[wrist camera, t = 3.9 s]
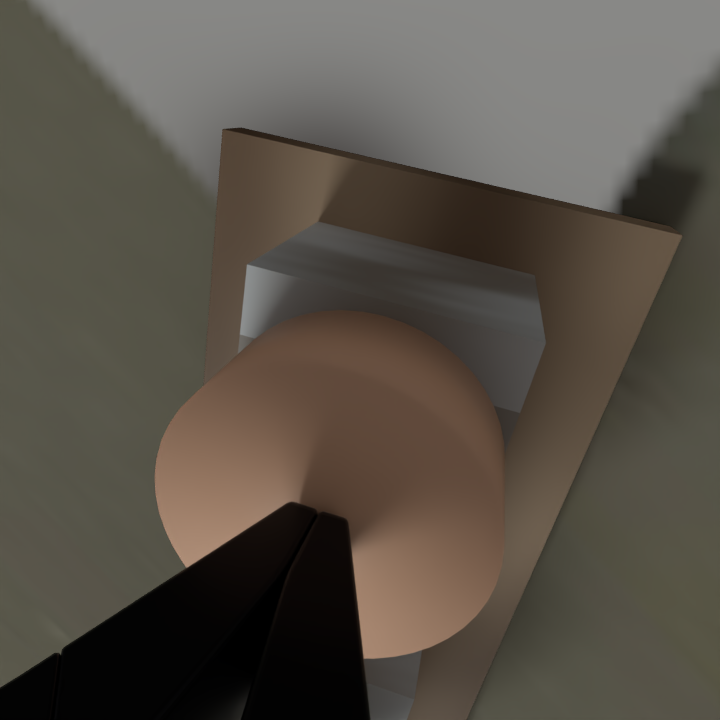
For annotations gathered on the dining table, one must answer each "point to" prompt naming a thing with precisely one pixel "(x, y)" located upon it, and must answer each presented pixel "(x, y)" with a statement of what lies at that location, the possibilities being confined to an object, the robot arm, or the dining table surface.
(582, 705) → the dining table surface
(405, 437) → the terracotta button
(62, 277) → the dining table surface
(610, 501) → the dining table surface
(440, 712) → the button board
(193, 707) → the robot arm
